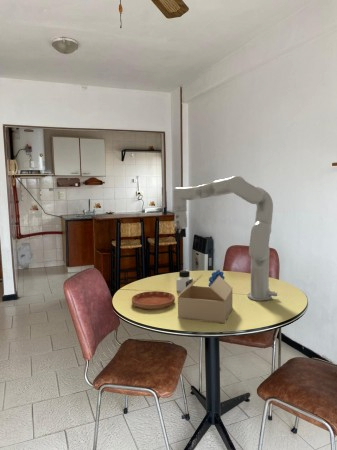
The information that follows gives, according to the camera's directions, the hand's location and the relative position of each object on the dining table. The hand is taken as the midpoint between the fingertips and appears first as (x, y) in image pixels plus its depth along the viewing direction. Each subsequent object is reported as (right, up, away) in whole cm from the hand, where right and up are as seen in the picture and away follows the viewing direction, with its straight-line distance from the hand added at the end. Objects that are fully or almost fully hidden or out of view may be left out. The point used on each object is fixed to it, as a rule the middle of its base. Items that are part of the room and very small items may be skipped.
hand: (180, 238), depth 202 cm
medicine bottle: (+3, -31, +3) cm, 31 cm away
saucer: (-15, -34, -18) cm, 42 cm away
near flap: (+18, -22, -37) cm, 47 cm away
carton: (+11, -35, -33) cm, 50 cm away
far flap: (+4, -22, -32) cm, 39 cm away
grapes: (+21, -31, +4) cm, 37 cm away
